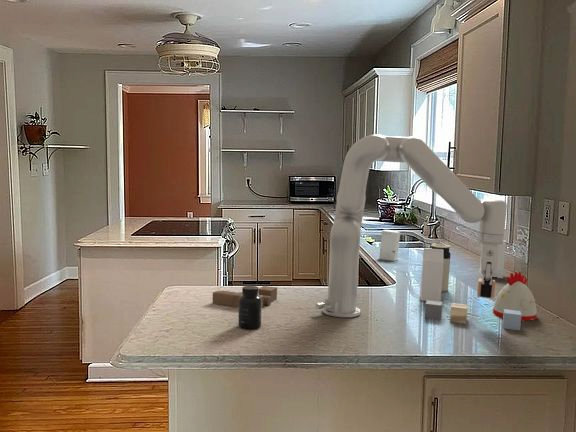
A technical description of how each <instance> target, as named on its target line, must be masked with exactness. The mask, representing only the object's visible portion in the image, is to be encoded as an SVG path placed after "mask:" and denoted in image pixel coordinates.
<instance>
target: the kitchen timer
mask: <svg viewBox="0 0 576 432" xmlns="http://www.w3.org/2000/svg"><path fill="white" fill-rule="evenodd" d="M506 280H507V284H505V285H504V286H503V287H502V288H501V290H499V291H498V292H497V294H496V298H495V300H494V303H493V308H492V313H493V315H495V316H497V317H499V318H502V319H503V312H504V309H507V310H516V311H521V320H524V321H523V322H526V321H525V320H532V319H535V318H536V319H537V317H536V316H538V315H537V314H538V311H537V305H536V299H535V297H534V295H533V293H532V291H531V290H530V288H529V287H528V286H527V285H526V283H527V282H528V278H526V277H525V274H522V272H520V271H518V272H516V271H515V272H514V273H513V272H510V275H509V276H506ZM536 319H535V320H536ZM532 321H533V320H532Z"/></svg>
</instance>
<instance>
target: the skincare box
mask: <svg viewBox="0 0 576 432" xmlns="http://www.w3.org/2000/svg"><path fill="white" fill-rule="evenodd" d="M380 238H381V239H380V246H379V247H380V248H379V260H382V261H392V262H395V261H397V260H398V257H399V250H400V249H399V247H400V240H401V239H400V238H401V231H399V230H398V231H396V230H391V229H383V230H381V237H380Z"/></svg>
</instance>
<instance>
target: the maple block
mask: <svg viewBox="0 0 576 432" xmlns="http://www.w3.org/2000/svg"><path fill="white" fill-rule="evenodd" d="M468 307H469V306H468V304H463V303H454V302H452V303H451V305H450V316H449V317H450V318H449V322H451V323H459V324H467V319H468Z"/></svg>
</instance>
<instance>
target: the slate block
mask: <svg viewBox="0 0 576 432" xmlns="http://www.w3.org/2000/svg"><path fill="white" fill-rule="evenodd" d="M521 322H522V321H521V311H516V310H507V309H504V312H503V318H502V329H505V330H506V329H507V330H514V331H521V326H522V323H521Z"/></svg>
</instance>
